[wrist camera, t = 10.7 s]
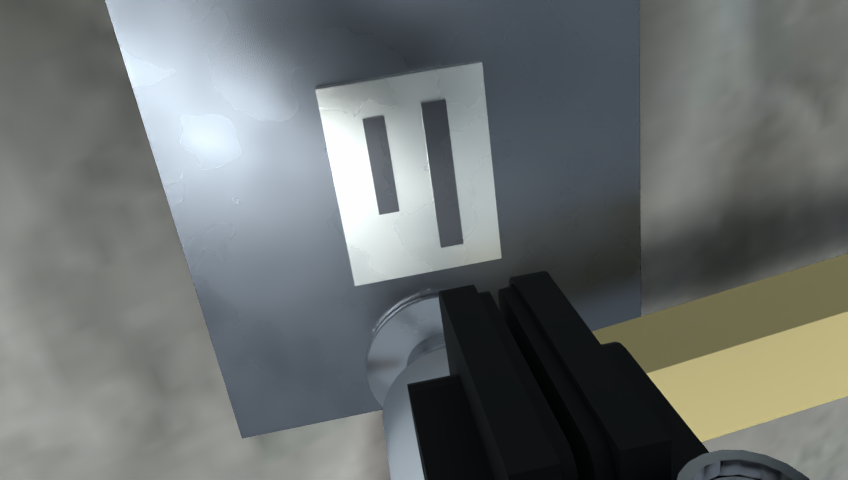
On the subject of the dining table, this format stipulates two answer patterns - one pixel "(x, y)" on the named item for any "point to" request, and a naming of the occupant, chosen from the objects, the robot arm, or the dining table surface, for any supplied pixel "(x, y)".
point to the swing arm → (705, 357)
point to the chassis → (384, 175)
